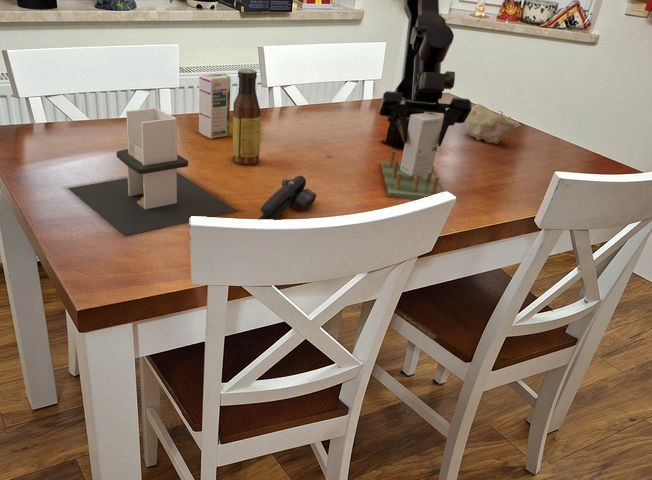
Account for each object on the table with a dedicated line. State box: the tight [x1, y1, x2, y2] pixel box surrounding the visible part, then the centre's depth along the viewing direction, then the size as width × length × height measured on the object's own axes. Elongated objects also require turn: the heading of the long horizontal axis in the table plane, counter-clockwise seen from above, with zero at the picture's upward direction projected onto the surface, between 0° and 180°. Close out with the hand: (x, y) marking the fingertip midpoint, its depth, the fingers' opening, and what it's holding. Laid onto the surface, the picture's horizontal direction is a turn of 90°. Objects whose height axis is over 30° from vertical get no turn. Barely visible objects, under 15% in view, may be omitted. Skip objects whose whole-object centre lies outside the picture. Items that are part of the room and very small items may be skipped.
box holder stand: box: [67, 107, 239, 237], centre depth 125 cm, size 25×24×16 cm
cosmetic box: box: [400, 112, 444, 176], centre depth 140 cm, size 6×4×12 cm
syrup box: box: [198, 71, 232, 139], centre depth 163 cm, size 6×6×14 cm
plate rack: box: [380, 150, 443, 200], centre depth 147 cm, size 20×12×4 cm, turn 177°
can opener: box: [259, 175, 317, 220], centre depth 127 cm, size 18×7×6 cm, turn 150°
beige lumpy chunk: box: [464, 103, 522, 145], centre depth 179 cm, size 15×7×15 cm
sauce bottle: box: [232, 68, 262, 166], centre depth 146 cm, size 6×6×20 cm
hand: (422, 143), depth 139 cm, fingers closed on cosmetic box, 7 cm apart
